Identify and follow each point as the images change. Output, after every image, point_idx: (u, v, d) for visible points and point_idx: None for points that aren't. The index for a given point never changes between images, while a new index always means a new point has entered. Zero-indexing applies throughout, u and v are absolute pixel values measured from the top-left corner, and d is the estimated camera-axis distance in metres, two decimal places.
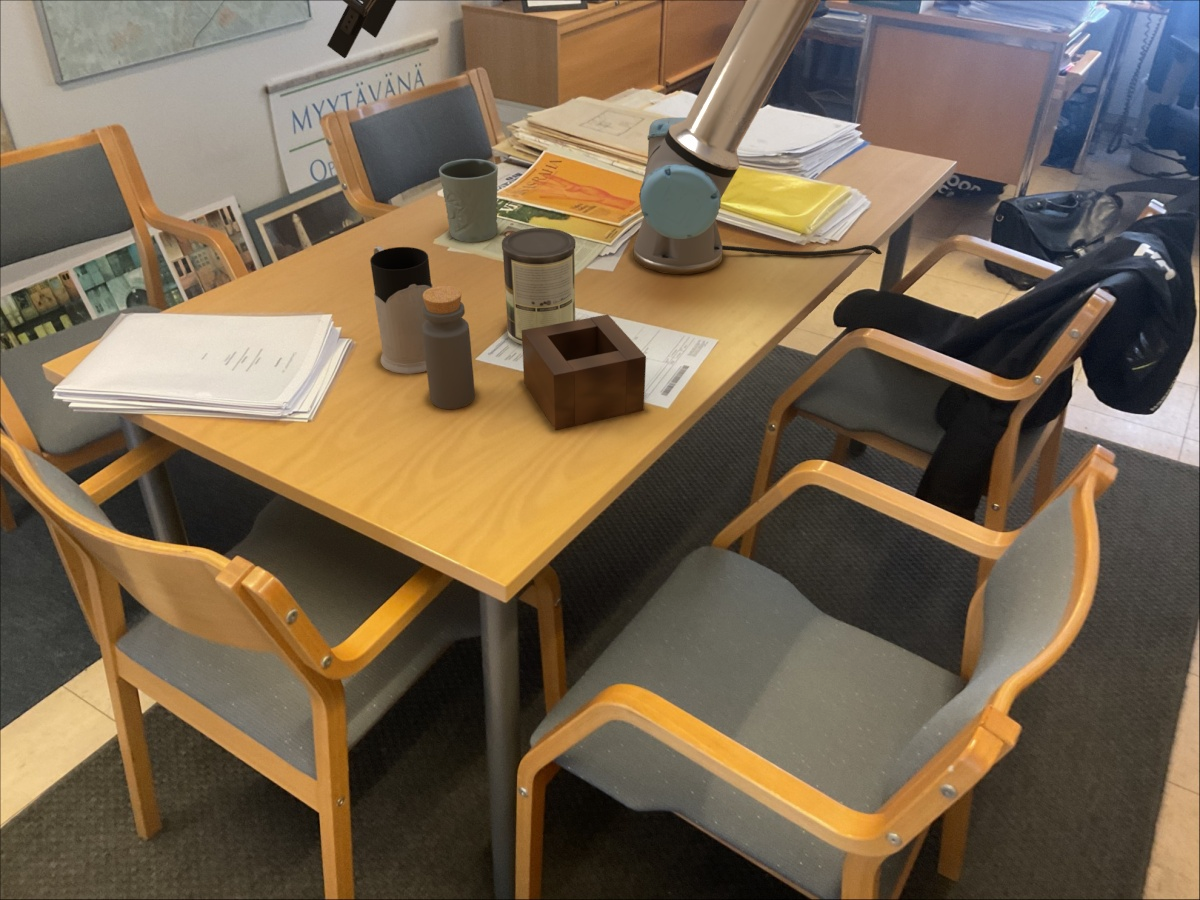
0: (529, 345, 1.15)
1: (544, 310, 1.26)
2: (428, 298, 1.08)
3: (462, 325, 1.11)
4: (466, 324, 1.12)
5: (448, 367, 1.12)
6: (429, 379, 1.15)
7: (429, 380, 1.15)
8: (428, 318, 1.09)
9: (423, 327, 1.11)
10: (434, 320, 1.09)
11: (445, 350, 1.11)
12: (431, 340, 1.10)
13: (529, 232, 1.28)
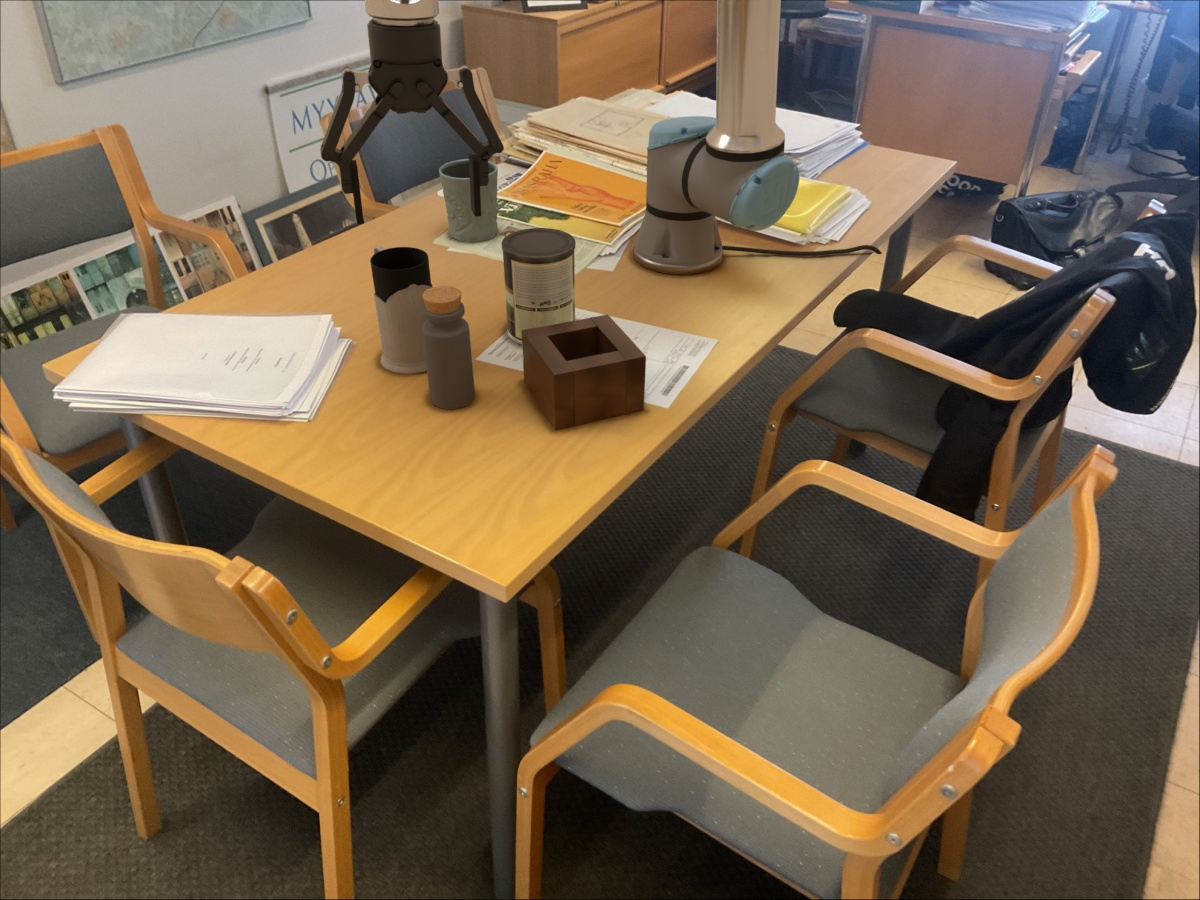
0: (529, 345, 1.15)
1: (544, 310, 1.26)
2: (428, 298, 1.08)
3: (462, 325, 1.11)
4: (466, 324, 1.12)
5: (448, 367, 1.12)
6: (429, 379, 1.15)
7: (429, 380, 1.15)
8: (428, 318, 1.09)
9: (423, 327, 1.11)
10: (434, 320, 1.09)
11: (445, 350, 1.11)
12: (431, 340, 1.10)
13: (529, 232, 1.28)
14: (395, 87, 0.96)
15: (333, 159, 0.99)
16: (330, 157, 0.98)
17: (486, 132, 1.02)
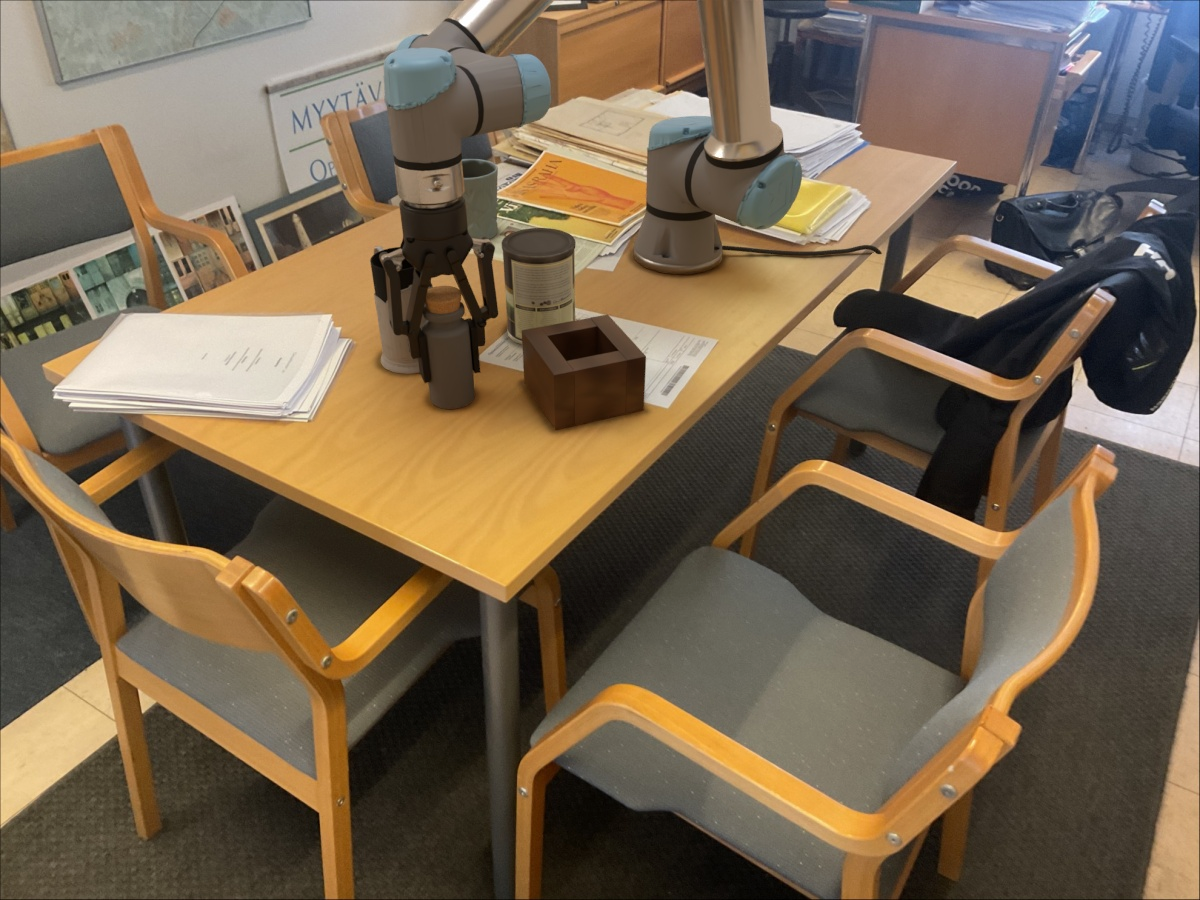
0: (529, 345, 1.15)
1: (544, 310, 1.26)
2: (428, 298, 1.08)
3: (462, 325, 1.11)
4: (466, 324, 1.12)
5: (448, 367, 1.12)
6: None
7: None
8: (428, 318, 1.09)
9: (423, 327, 1.11)
10: (434, 320, 1.09)
11: (445, 350, 1.11)
12: (431, 340, 1.10)
13: (529, 232, 1.28)
14: (428, 258, 1.04)
15: (403, 332, 1.09)
16: (401, 330, 1.09)
17: (488, 298, 1.11)
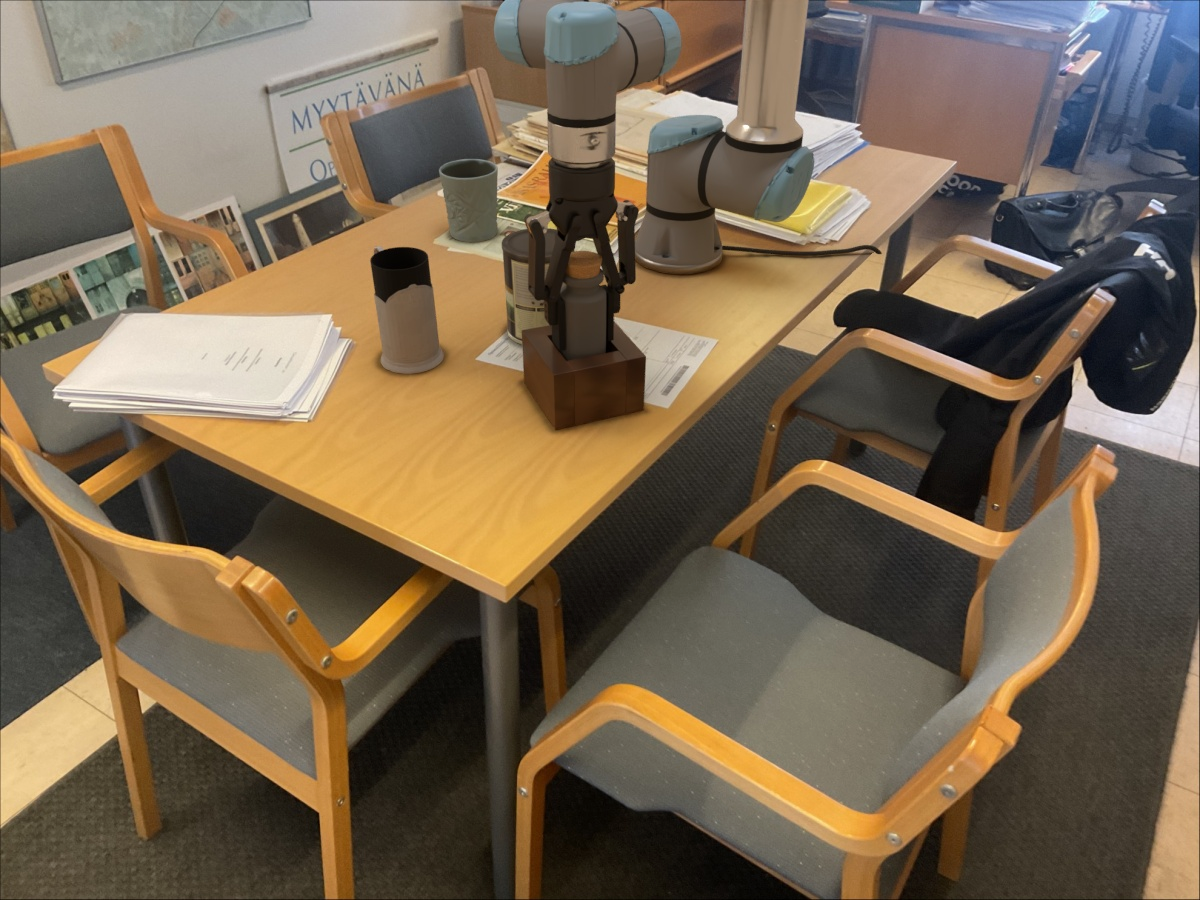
0: (529, 345, 1.15)
1: None
2: (570, 263, 1.06)
3: (600, 291, 1.09)
4: (604, 290, 1.10)
5: (585, 334, 1.10)
6: None
7: None
8: (569, 283, 1.07)
9: (561, 293, 1.09)
10: (575, 285, 1.07)
11: (584, 316, 1.09)
12: (570, 306, 1.08)
13: None
14: (575, 221, 1.02)
15: (543, 297, 1.07)
16: (542, 295, 1.07)
17: (627, 263, 1.09)
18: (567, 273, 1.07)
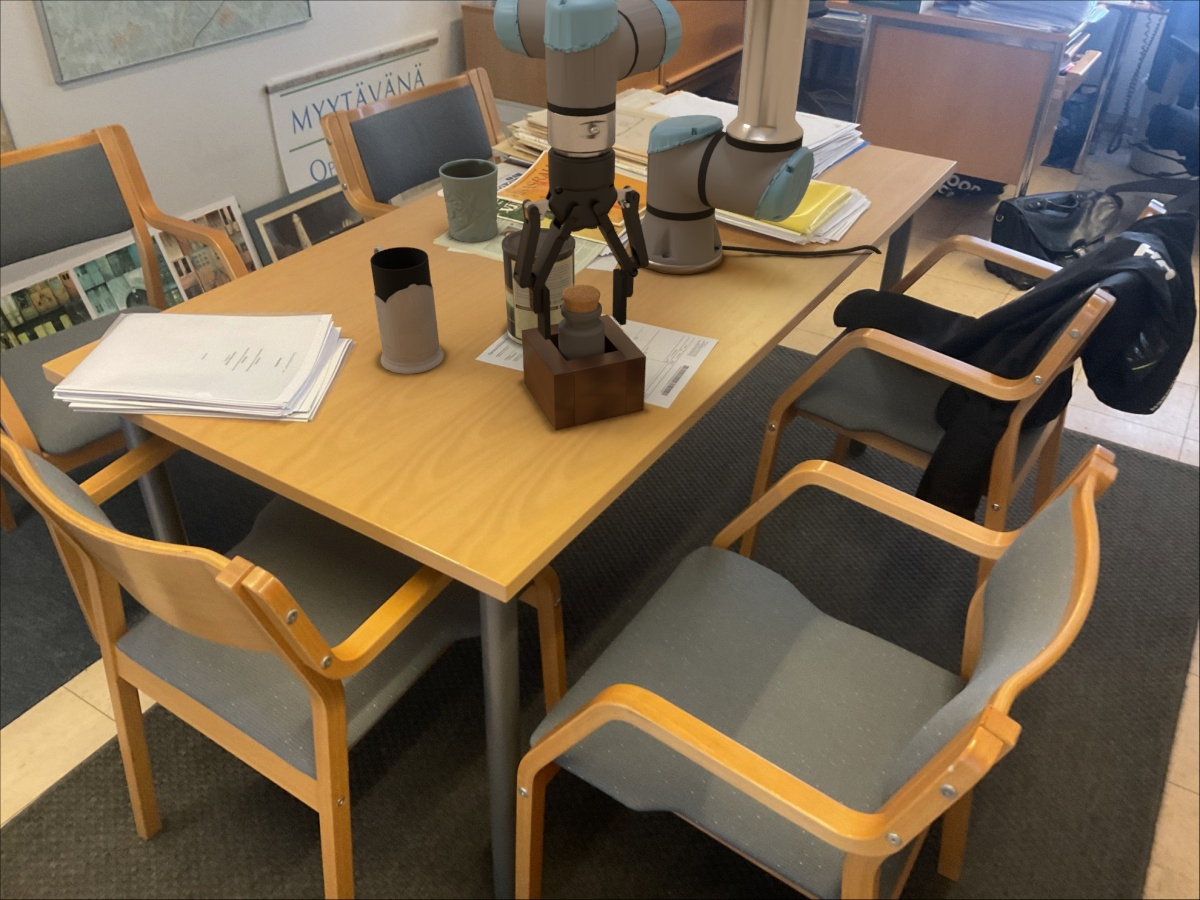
0: (529, 345, 1.15)
1: None
2: (569, 297, 1.09)
3: (599, 324, 1.12)
4: (602, 323, 1.12)
5: None
6: None
7: None
8: (568, 317, 1.10)
9: (560, 326, 1.12)
10: (574, 319, 1.09)
11: (583, 349, 1.11)
12: (569, 339, 1.11)
13: None
14: (575, 210, 1.01)
15: (528, 285, 1.06)
16: (527, 284, 1.05)
17: (638, 248, 1.08)
18: (566, 307, 1.10)
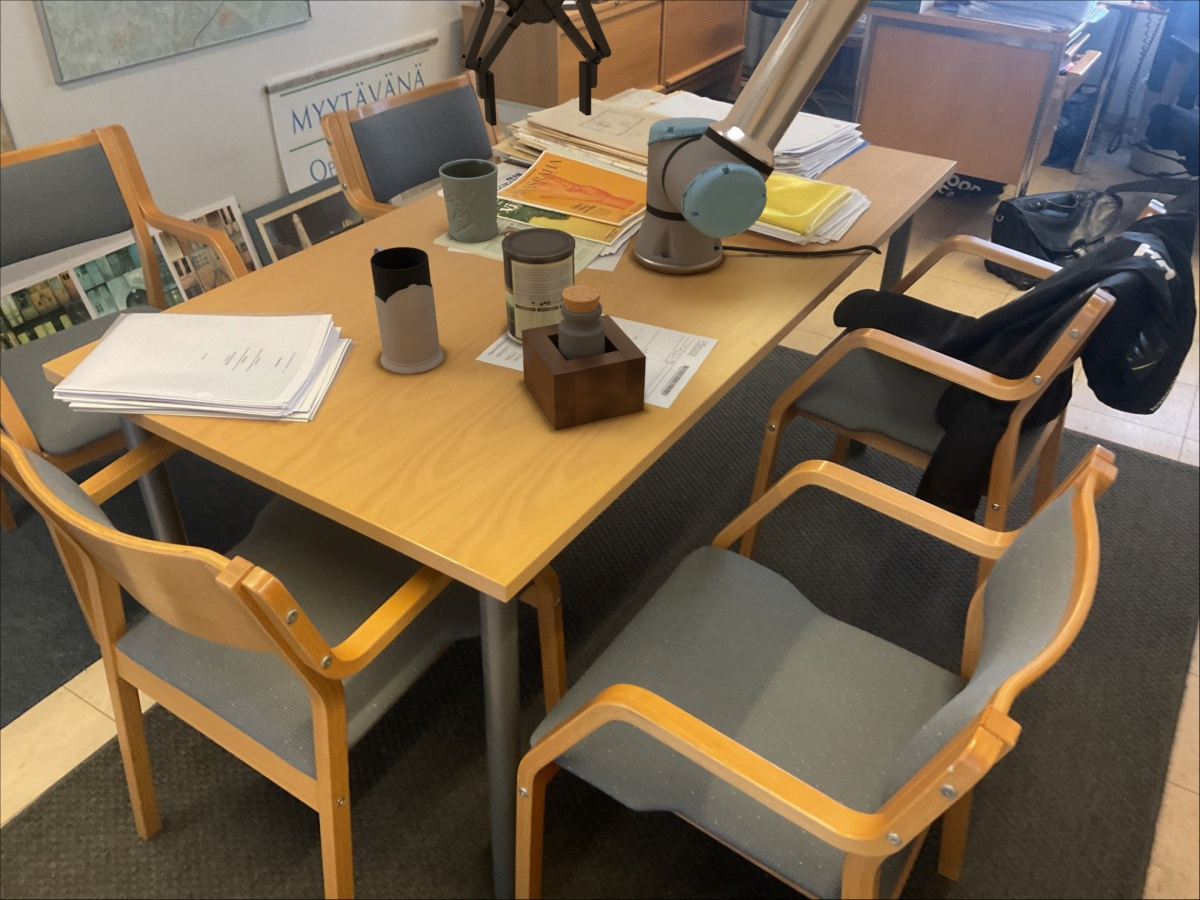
0: (529, 345, 1.15)
1: (544, 310, 1.26)
2: (569, 297, 1.09)
3: (599, 324, 1.12)
4: (602, 323, 1.12)
5: None
6: None
7: None
8: (568, 317, 1.10)
9: (560, 326, 1.12)
10: (574, 319, 1.09)
11: (583, 349, 1.11)
12: (569, 339, 1.11)
13: (529, 233, 1.28)
14: (528, 0, 1.12)
15: (473, 68, 1.15)
16: (472, 65, 1.14)
17: (597, 39, 1.19)
18: (566, 307, 1.10)
